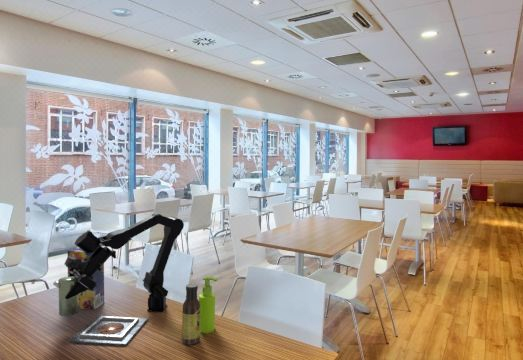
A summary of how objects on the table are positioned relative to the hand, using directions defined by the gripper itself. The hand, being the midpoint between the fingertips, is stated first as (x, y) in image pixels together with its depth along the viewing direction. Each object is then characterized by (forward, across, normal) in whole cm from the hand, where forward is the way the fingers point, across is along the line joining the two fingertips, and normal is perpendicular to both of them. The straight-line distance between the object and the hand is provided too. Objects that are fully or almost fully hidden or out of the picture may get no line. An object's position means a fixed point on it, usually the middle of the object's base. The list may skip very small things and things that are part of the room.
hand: (63, 295), depth 135 cm
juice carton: (+1, -21, +19) cm, 28 cm away
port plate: (0, +9, +19) cm, 21 cm away
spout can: (+4, 0, +6) cm, 7 cm away
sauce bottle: (-14, +33, +34) cm, 49 cm away
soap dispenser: (-20, +29, +40) cm, 53 cm away
